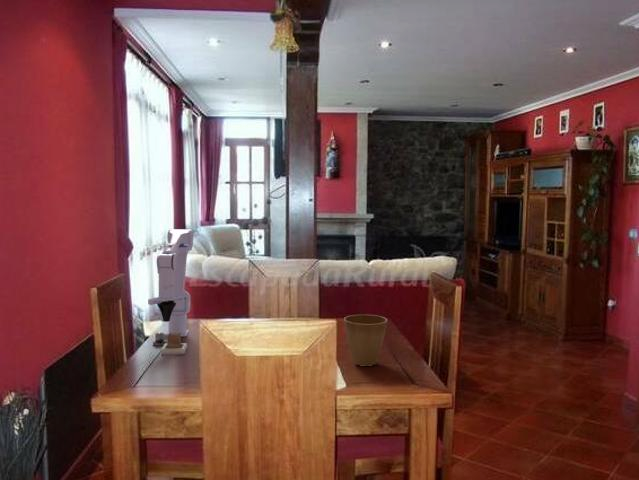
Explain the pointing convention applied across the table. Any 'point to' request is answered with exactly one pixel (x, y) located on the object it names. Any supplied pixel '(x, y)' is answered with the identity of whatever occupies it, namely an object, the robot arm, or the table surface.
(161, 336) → the crank
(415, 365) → the table surface
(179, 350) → the tray
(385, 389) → the table surface
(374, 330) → the plant pot
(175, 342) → the block
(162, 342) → the crank base
